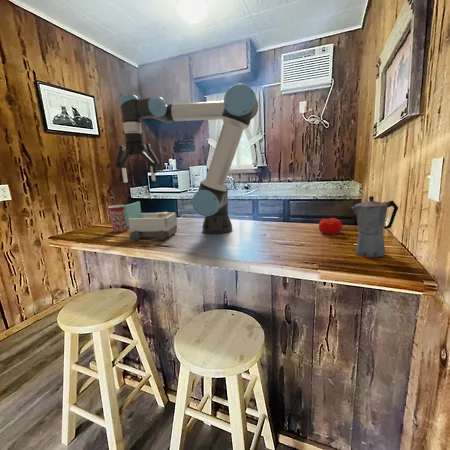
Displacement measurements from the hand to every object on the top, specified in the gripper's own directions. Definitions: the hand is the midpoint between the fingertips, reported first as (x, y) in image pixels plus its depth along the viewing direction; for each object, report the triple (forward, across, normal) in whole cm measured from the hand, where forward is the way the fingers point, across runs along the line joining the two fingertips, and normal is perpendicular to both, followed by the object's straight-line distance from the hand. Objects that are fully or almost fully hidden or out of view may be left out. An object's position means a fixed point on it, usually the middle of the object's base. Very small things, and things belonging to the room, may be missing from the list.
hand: (139, 181), depth 119 cm
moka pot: (+28, -92, +27) cm, 100 cm away
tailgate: (+20, +6, 0) cm, 21 cm away
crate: (+20, -8, -1) cm, 22 cm away
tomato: (+28, -86, -1) cm, 91 cm away
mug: (+26, +18, -13) cm, 34 cm away
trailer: (+26, -4, 0) cm, 27 cm away
